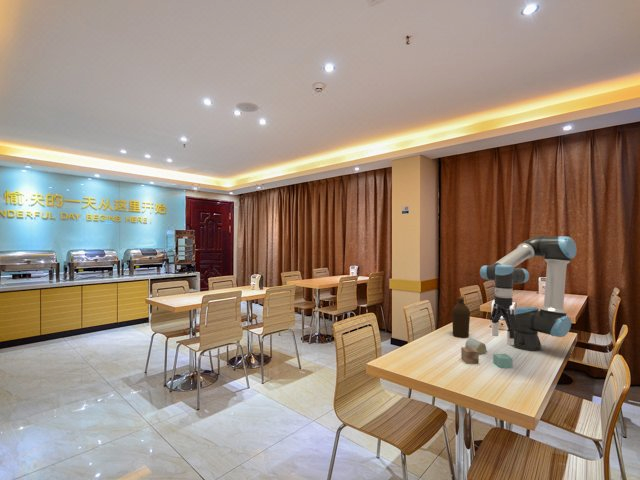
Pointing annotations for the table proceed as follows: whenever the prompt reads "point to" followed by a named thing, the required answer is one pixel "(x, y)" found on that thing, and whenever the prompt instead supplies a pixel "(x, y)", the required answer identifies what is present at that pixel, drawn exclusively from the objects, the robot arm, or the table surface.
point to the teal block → (502, 360)
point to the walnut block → (469, 355)
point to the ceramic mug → (476, 345)
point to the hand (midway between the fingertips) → (502, 340)
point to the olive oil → (460, 319)
